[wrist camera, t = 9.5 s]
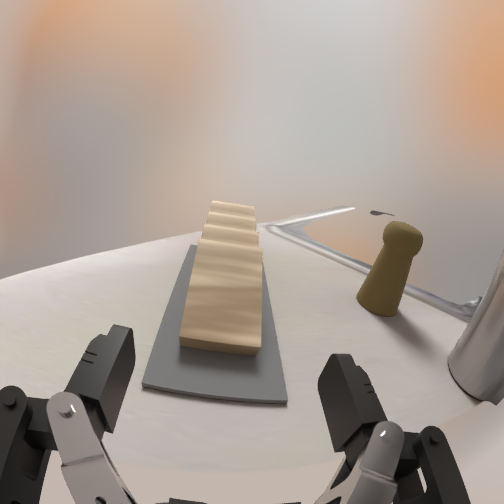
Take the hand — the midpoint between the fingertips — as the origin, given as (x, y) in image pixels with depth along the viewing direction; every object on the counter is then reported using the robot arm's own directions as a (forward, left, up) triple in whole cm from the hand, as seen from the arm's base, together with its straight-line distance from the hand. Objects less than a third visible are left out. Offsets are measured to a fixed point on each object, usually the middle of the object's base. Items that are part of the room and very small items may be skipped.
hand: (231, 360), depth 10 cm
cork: (+6, -27, -8) cm, 29 cm away
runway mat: (+13, -8, -8) cm, 17 cm away
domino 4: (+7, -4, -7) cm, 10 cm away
